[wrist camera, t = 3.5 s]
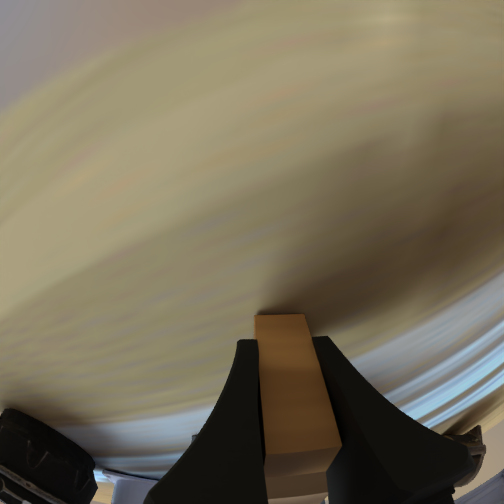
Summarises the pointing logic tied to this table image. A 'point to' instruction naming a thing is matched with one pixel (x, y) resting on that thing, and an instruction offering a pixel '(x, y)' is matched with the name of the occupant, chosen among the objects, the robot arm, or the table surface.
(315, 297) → the table surface
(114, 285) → the table surface
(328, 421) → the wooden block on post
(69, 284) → the table surface
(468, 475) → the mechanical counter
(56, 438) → the container
